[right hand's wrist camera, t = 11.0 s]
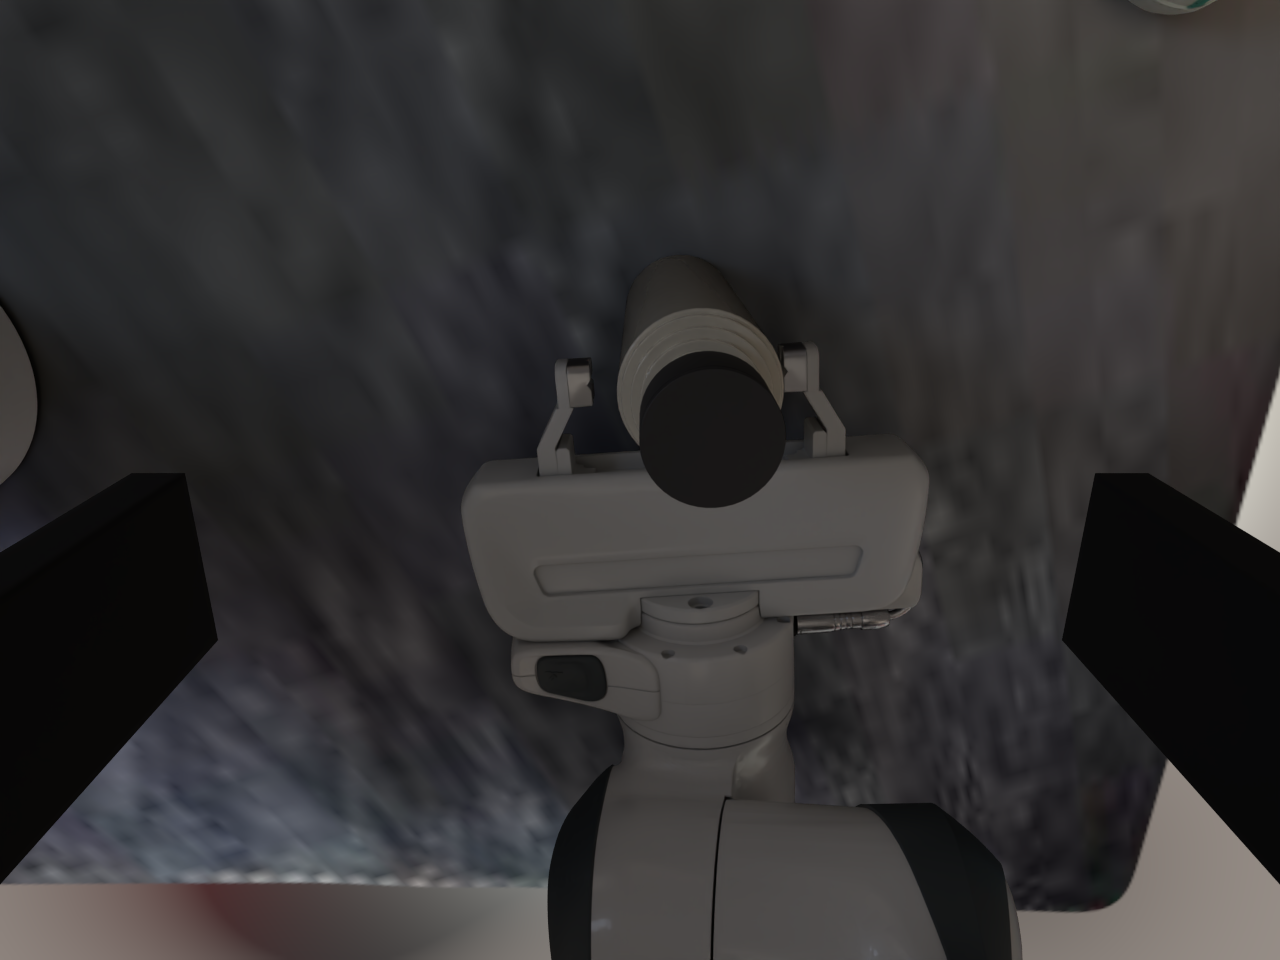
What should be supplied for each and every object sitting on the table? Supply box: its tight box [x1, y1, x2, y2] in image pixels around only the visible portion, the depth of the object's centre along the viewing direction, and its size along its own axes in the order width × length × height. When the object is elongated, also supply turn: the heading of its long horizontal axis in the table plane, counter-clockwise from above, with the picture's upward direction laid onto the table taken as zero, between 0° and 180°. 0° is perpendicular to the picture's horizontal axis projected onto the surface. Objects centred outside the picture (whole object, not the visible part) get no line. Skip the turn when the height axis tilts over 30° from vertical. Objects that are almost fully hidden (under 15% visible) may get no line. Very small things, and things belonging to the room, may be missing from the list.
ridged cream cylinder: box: [617, 255, 784, 445], centre depth 32 cm, size 5×5×20 cm
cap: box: [639, 351, 786, 508], centre depth 23 cm, size 4×4×2 cm
